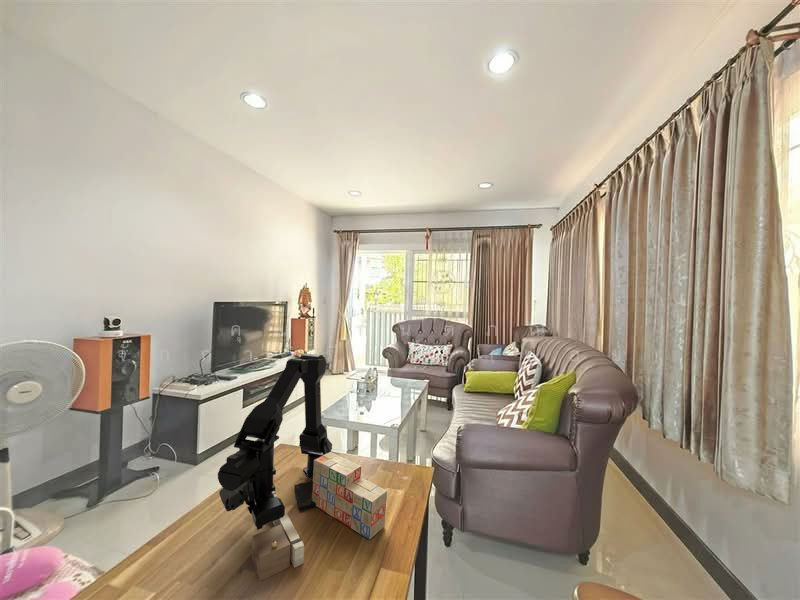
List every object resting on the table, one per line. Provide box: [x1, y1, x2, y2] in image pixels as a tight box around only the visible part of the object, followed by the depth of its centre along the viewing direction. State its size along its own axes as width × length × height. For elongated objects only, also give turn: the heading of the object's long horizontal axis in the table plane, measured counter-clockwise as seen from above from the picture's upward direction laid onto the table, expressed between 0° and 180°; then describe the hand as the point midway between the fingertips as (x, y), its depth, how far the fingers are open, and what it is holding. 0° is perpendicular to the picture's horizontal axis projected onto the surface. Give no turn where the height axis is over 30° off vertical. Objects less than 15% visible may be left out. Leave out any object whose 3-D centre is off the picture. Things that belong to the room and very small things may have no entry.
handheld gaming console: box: [294, 479, 317, 512], centre depth 91 cm, size 12×7×10 cm
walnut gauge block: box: [251, 525, 291, 582], centre depth 69 cm, size 7×6×6 cm
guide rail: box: [271, 491, 305, 568], centre depth 77 cm, size 24×2×4 cm, turn 37°
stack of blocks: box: [312, 451, 388, 540], centre depth 84 cm, size 21×6×12 cm, turn 55°
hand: (259, 528), depth 76 cm, fingers closed
